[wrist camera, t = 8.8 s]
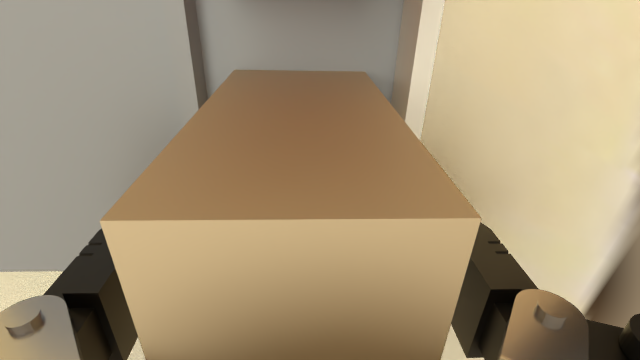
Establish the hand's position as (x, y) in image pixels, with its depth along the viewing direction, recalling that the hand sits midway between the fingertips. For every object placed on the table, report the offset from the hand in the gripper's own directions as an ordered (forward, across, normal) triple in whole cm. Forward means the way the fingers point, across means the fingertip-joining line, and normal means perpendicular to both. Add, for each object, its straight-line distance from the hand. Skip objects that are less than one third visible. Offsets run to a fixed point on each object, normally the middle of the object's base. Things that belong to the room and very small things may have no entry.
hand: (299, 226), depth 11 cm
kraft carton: (+4, 0, 0) cm, 4 cm away
